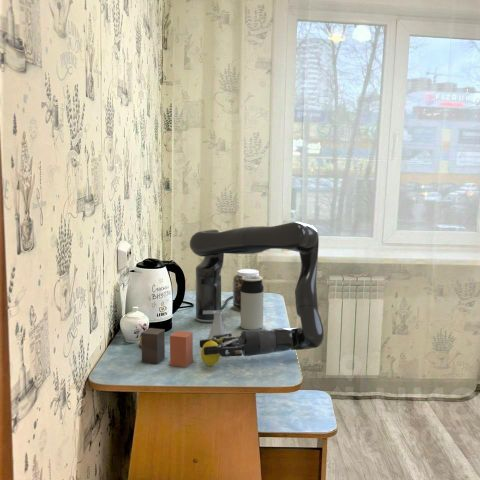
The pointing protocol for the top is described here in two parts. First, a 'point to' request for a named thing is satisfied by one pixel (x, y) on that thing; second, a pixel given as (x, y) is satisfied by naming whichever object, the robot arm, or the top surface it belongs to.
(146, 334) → the walnut block
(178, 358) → the terracotta block
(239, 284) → the jar
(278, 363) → the top surface
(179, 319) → the top surface
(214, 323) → the flask
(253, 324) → the travel mug
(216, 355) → the lemon
